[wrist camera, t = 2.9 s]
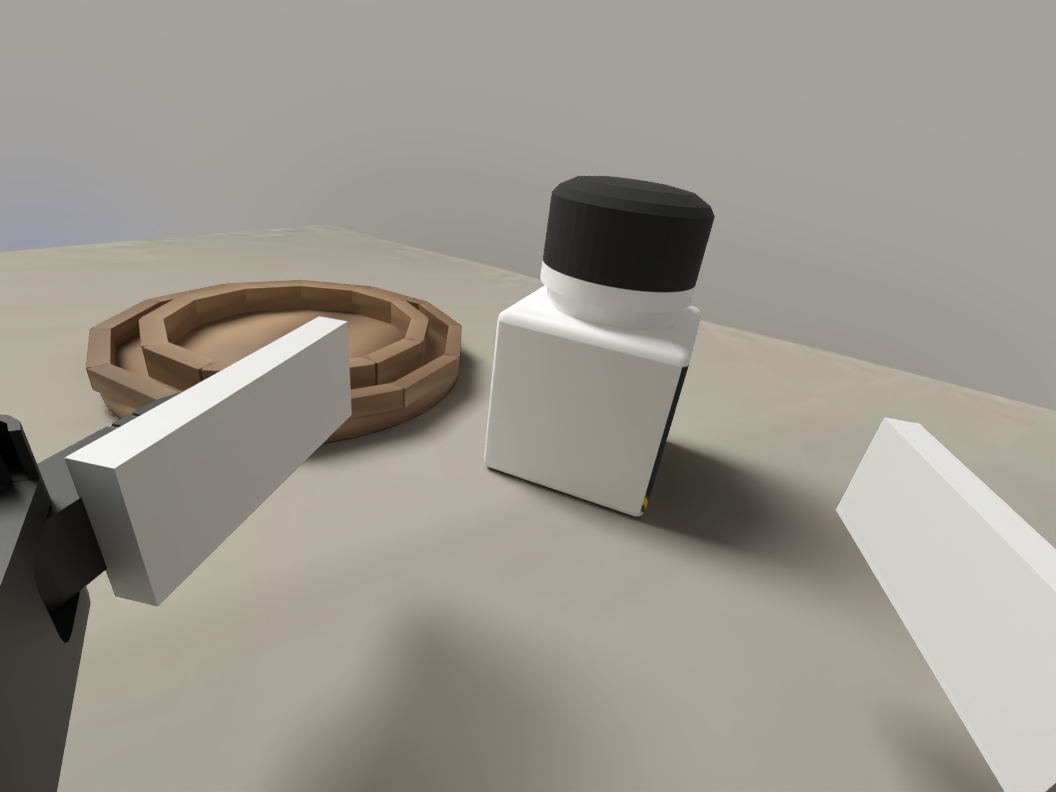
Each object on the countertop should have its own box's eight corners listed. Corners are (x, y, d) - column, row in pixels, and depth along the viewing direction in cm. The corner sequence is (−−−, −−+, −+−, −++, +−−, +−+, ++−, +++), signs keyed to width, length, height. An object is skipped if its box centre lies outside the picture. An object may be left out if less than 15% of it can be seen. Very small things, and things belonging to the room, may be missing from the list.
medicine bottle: (641, 523, 20) (737, 203, 14) (480, 468, 22) (508, 167, 16) (664, 439, 26) (737, 192, 20) (536, 402, 28) (571, 167, 22)
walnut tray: (462, 320, 38) (464, 288, 37) (452, 457, 22) (455, 408, 21) (207, 298, 35) (200, 263, 34) (-10, 435, 20) (-36, 378, 18)
